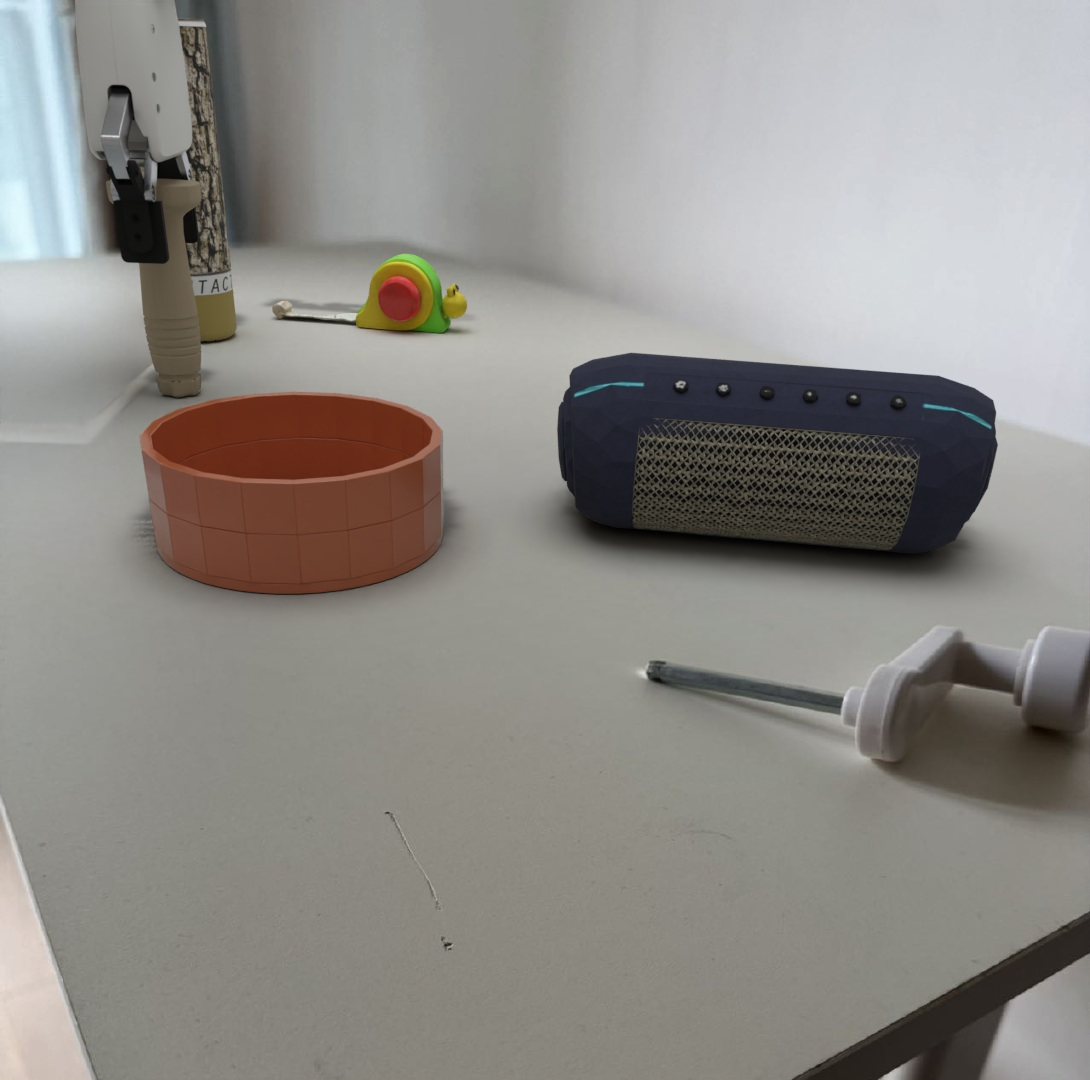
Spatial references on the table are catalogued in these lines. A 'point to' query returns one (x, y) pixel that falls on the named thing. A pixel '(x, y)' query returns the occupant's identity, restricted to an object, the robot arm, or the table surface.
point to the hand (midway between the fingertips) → (162, 250)
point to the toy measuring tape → (400, 299)
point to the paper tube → (207, 193)
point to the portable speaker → (775, 451)
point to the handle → (172, 297)
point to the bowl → (295, 490)
